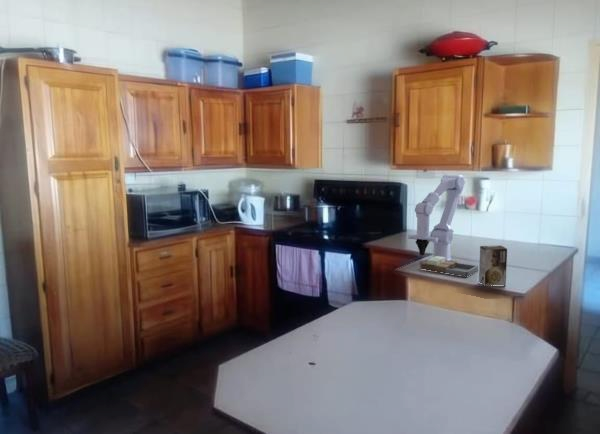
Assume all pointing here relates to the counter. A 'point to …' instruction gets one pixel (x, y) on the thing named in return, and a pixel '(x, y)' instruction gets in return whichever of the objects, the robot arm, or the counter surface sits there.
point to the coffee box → (492, 265)
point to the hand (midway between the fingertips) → (422, 254)
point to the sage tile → (433, 261)
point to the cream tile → (440, 258)
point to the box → (463, 269)
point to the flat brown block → (439, 266)
